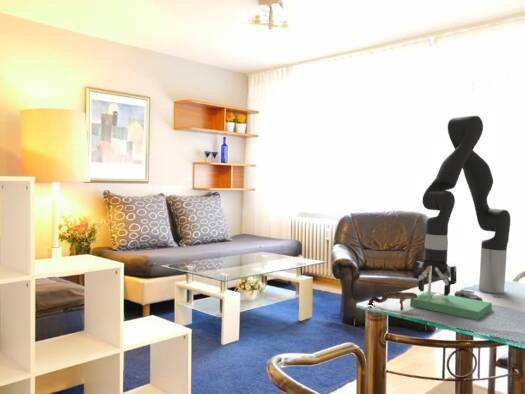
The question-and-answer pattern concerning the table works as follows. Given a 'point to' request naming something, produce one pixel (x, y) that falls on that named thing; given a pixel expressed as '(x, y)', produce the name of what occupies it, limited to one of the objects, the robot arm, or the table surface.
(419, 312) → the table surface
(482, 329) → the table surface
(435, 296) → the ball
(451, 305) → the green
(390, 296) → the toy
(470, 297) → the rock
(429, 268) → the pin
